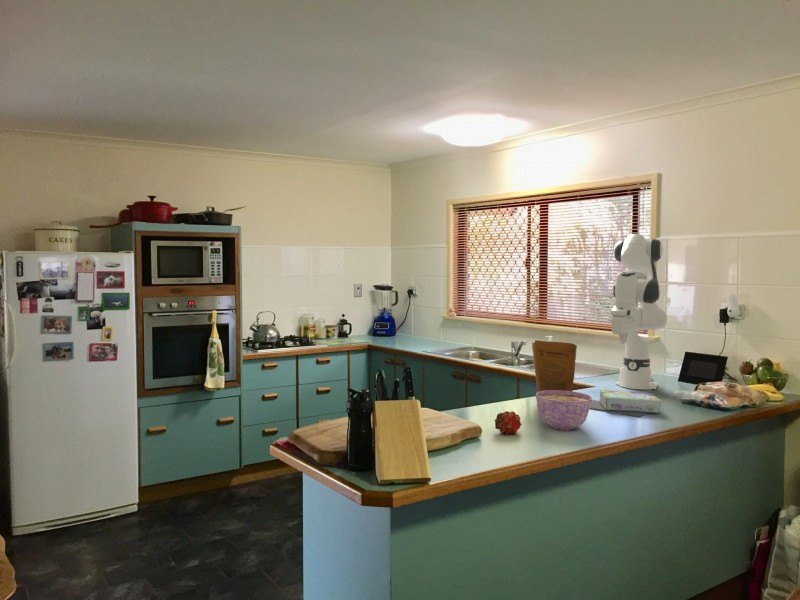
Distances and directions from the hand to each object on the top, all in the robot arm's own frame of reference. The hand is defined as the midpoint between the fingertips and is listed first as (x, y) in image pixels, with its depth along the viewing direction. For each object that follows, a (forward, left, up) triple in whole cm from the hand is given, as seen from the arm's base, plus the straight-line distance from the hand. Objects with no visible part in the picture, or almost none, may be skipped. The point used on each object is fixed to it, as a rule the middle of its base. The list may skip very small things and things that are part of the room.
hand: (623, 343), depth 279 cm
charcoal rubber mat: (+8, 0, -26) cm, 28 cm away
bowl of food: (+52, -4, -27) cm, 59 cm away
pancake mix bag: (+28, -18, -27) cm, 43 cm away
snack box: (-2, +1, -23) cm, 23 cm away
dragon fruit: (+73, -15, -27) cm, 79 cm away
